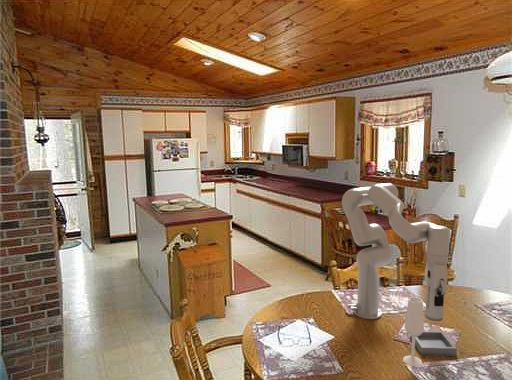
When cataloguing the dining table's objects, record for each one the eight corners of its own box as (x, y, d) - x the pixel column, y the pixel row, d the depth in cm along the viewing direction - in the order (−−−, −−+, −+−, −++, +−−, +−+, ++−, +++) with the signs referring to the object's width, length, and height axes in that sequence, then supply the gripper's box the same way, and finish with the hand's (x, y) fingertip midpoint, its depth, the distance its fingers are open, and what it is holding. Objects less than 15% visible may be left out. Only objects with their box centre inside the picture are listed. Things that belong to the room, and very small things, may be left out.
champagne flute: (408, 353, 148) (411, 294, 145) (425, 361, 143) (429, 299, 140) (399, 360, 144) (402, 299, 140) (416, 368, 139) (420, 305, 135)
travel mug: (441, 315, 154) (444, 266, 151) (443, 322, 148) (446, 272, 145) (424, 313, 156) (427, 265, 153) (425, 320, 150) (428, 270, 147)
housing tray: (421, 355, 147) (421, 347, 147) (409, 337, 160) (410, 330, 160) (456, 355, 146) (456, 348, 146) (441, 338, 159) (442, 331, 159)
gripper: (419, 251, 157) (417, 293, 159) (436, 264, 140) (434, 311, 142) (438, 251, 157) (435, 293, 159) (457, 265, 139) (454, 312, 142)
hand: (435, 301), depth 151 cm, fingers closed on travel mug, 6 cm apart
